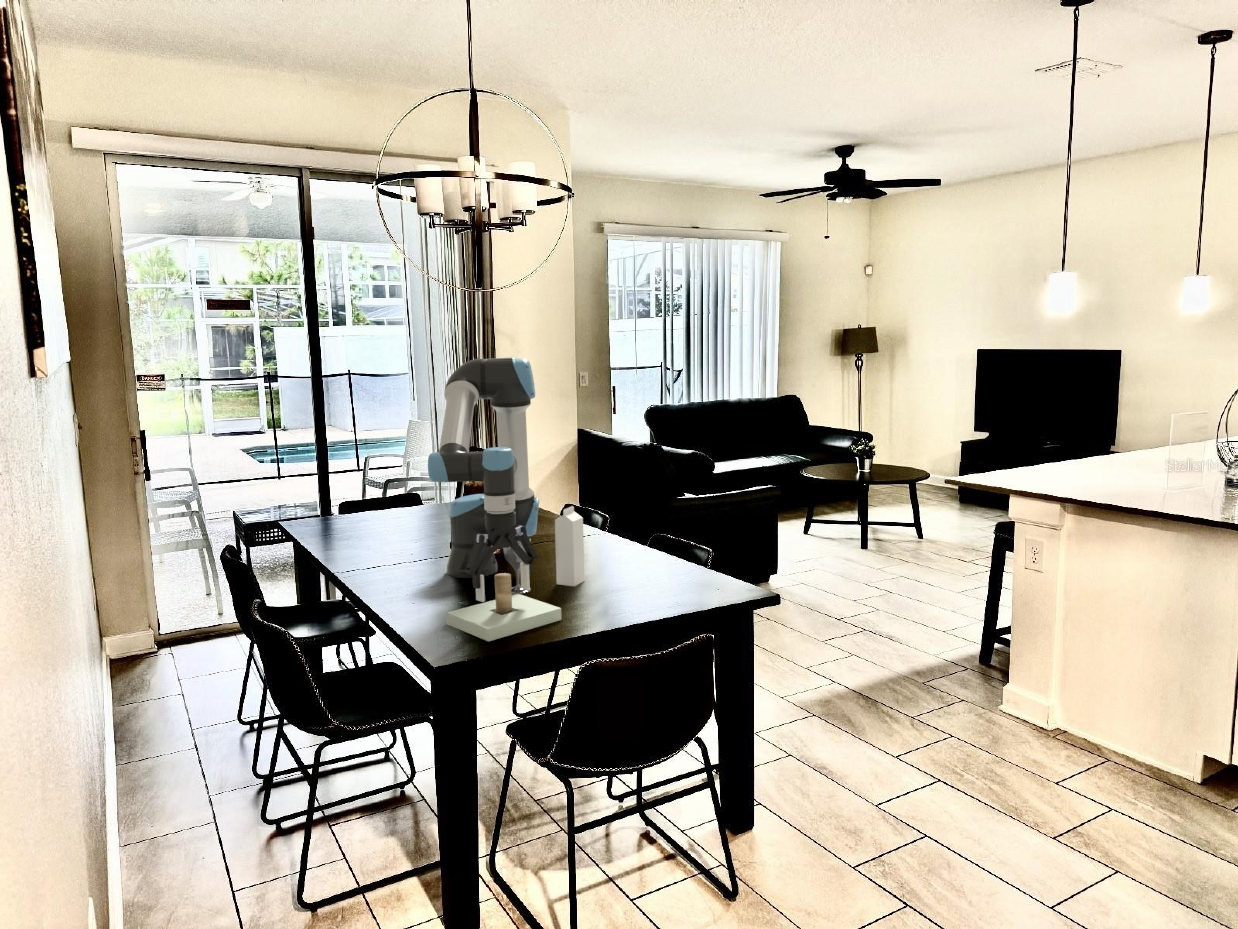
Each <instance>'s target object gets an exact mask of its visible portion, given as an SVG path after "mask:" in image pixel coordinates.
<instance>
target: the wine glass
mask: <svg viewBox="0 0 1238 929" xmlns="http://www.w3.org/2000/svg"><path fill="white" fill-rule="evenodd" d="M528 538H529V540H530V542H531V543H532V540H531V536H528ZM514 539H515V540H516V541H517V542H518V544H519V546H520V547H521V548H522V549H523V550H524V547H523V545H522V543H521V541H520V539H519V537H518V535H516V536H515V537H514ZM524 551H525V550H524ZM502 553H503V556H504V558H505V560H506V561H507V562H508V563H509V564H510V565H511V566H512V568H513V570H514V573H515V579H516V585H515V586H511V592H512V595H515V594H520V595H523V594H527V593H529V592H531V589H532V588H530V590H525V589H522V588H521V583H520V575H521V573H520V563H524V562H523V561H522V560H521V559H520V558H519V556H518V555H517V554H516V553H515V552H514V551H513V550H512V548H511V547H510V546H509V547H508V548H502ZM525 553H526V552H525ZM526 592H527V593H526Z"/></svg>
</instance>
